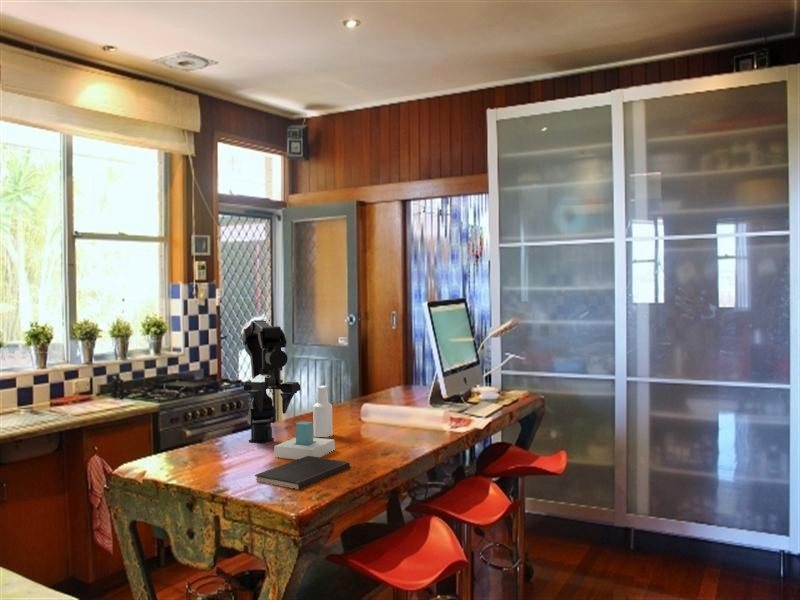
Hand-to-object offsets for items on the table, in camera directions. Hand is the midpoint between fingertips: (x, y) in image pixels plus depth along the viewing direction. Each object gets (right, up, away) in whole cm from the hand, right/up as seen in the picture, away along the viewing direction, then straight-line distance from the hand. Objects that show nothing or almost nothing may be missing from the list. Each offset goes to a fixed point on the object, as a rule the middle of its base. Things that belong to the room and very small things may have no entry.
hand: (272, 412), depth 207 cm
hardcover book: (+14, -14, -25) cm, 32 cm away
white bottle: (+14, -13, +23) cm, 29 cm away
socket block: (+11, -13, -2) cm, 17 cm away
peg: (+11, -13, -2) cm, 17 cm away
